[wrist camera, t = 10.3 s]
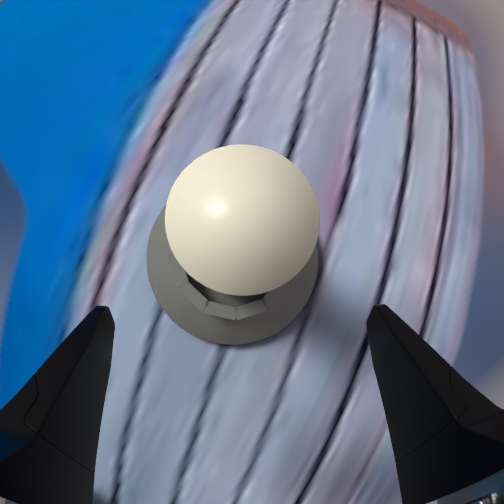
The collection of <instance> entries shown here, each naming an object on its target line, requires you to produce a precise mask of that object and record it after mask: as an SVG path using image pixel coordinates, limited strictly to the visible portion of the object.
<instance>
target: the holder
mask: <svg viewBox="0 0 504 504" xmlns="http://www.w3.org/2000/svg"><path fill="white" fill-rule="evenodd" d="M165 209H166V206H165V207H164V208H163V210H162V211H161V213H160V214H159V216H158V218H157V220H156V222H155V224H154V226H153V228H152V231H151V234H150V237H149V242H148V247H147V271H148V276H149V281H150V284H151V287H152V290H153V292H154V295H155V297H156V298H157V300H158V302H159V304H160V305H161V307H162V308H163V310H164V311H165V313H166V314H167V315H168V316H169V317H170V318H171V319H172V320H173V321H174V322H175V323H176V324H177V325H179V326H180V327H181V328H182V329H184V330H185V331H187V332H189V333H190V334H192V335H194V336H196V337H198V338H200V339H203V340H206V341H209V342H213V343H218V344H225V345H240V344H248V343H252V342H256V341H260V340H262V339H265V338H267V337H270V336H272V335H274V334H275V333H277V332H279V331H280V330H282V329H283V328H284V327H286V326H287V325H288V324H290V323H291V322H292V321H293V320H294V319H295V318H296V317H297V315H298V314H299V313H300V312H301V310H302V309H303V308H304V306H305V305H306V303H307V301H308V299H309V298H310V295H311V293H312V291H313V288H314V285H315V281H316V278H317V271H318V248H317V242H316V245H315V248H314V250H313V253H312V255H311V256H310V258H309V260H308V262H307V263H306V264H305V266H304V267H303V268H302V269H301V271H300V272H299V273H298V274H297V275H296V276H295V277H293V278H292V279H291V280H289V281H288V282H287V283H285V284H283V285H282V286H280V287H278V288H276V289H273V290H271V291H268V292H265V293H261V294H257V295H248V296H238V295H230V294H224V293H221V292H218V291H215V290H212V289H210V288H208V287H206V286H204V285H203V284H201V283H199V282H198V281H196V280H195V279H194V278H193V277H191V276H190V275H189V274H188V273H187V272H186V271H185V270H184V269H183V268H182V266H181V265H180V264H179V262H178V261H177V259H176V258H175V256H174V254H173V252H172V250H171V248H170V245H169V242H168V239H167V234H166V229H165Z"/></svg>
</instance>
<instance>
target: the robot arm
mask: <svg viewBox="0 0 504 504" xmlns="http://www.w3.org/2000/svg"><path fill="white" fill-rule="evenodd" d="M114 331H115V323H114V320H113V317H112V315H111V312H110V309H109V308H108V307H107V306H96V307H95V308H94V309H93V310H92V311H91V312H90V313H89V314H88V315H87V316H86V317H85V318H84V319H83V320H82V321H81V323H80V324H79V325H78V326H77V327H76V328H75V329H74V330H73V331H72V332H71V333H70V334H69V335H68V337H67V338H66V339H65V340H64V341H63V342H62V343H61V344H60V345H59V346H58V348H57V349H56V350H55V351H54V352H53V353H52V354H51V355H50V357H49V358H48V359H47V360H46V361H45V362H44V363H43V365H42V366H41V367H40V368H39V369H38V370H37V372H36V373H35V374H34V375H33V376H32V377H31V378H30V380H29V381H28V382H27V383H26V384H25V385H24V386H23V388H22V389H21V390H20V391H19V392H18V393H17V394H16V395H15V396H14V397H13V398H12V399H11V400H10V401H9V402H8V403H7V404H6V405H5V406H4V407H3V408H2V409H1V410H0V504H92V499H93V486H94V475H95V474H94V473H95V464H96V455H97V447H98V440H99V433H100V426H101V419H102V413H103V407H104V401H105V395H106V390H107V384H108V379H109V374H110V368H111V360H112V349H113V339H114ZM367 331H368V337H369V343H370V349H371V356H372V362H373V366H374V370H375V374H376V378H377V382H378V386H379V390H380V394H381V398H382V402H383V406H384V410H385V415H386V419H387V423H388V428H389V433H390V437H391V442H392V447H393V452H394V457H395V462H396V468H397V474H398V479H399V485H400V491H401V497H402V504H426V503H429V502H431V501H434V500H437V504H504V410H503V409H501V408H499V407H498V406H496V405H495V404H493V403H492V402H491V401H490V400H489V399H488V398H486V397H485V396H484V395H483V394H481V393H480V392H479V391H478V390H477V389H475V388H474V387H473V386H472V385H471V384H470V383H469V382H467V381H466V380H465V379H464V378H463V377H462V376H461V375H460V374H459V373H458V372H457V371H456V370H455V369H454V368H453V367H452V366H450V364H448V363H447V362H446V361H445V360H444V359H443V358H442V357H441V356H440V355H439V354H438V353H437V352H436V351H435V350H434V349H433V348H432V347H431V346H430V345H429V344H428V343H427V342H426V341H424V340H423V339H422V338H421V337H420V336H419V335H418V334H417V333H416V332H415V331H414V330H413V329H412V328H411V327H410V326H408V325H407V324H406V323H405V322H404V321H403V320H402V319H401V318H400V317H399V316H398V315H397V314H395V313H394V312H393V311H392V310H391V309H390V308H389V307H388V306H387V305H385V304H380V305H375V306H373V308H372V310H371V313H370V315H369V317H368V319H367Z"/></svg>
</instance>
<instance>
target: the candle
mask: <svg viewBox="0 0 504 504" xmlns="http://www.w3.org/2000/svg"><path fill="white" fill-rule="evenodd" d="M319 226H320V214H319V208H318V203H317V200H316V196H315V194H314V191H313V189H312V187H311V185H310V183H309V182H308V180H307V178H306V177H305V176H304V175H303V173H302V172H301V171H300V170H299V169H298V168H297V167H296V166H295V165H294V164H293V163H292V162H290V161H289V160H288V159H287V158H285V157H283V156H282V155H280V154H278V153H276V152H274V151H272V150H269V149H266V148H263V147H259V146H253V145H229V146H224V147H220V148H217V149H214V150H211V151H209V152H207V153H205V154H203V155H202V156H200V157H199V158H197V159H195V160H194V161H193V162H192V163H191V164H189V165H188V166H187V167H186V168H185V169H184V171H183V172H182V173H181V174H180V175H179V177H178V178H177V180H176V181H175V183H174V185H173V187H172V189H171V191H170V194H169V197H168V200H167V204H166V209H165V229H166V234H167V239H168V242H169V245H170V248H171V250H172V252H173V254H174V256H175V258H176V259H177V261H178V262H179V264H180V265H181V266H182V268H183V269H184V270H185V271H186V272H187V273H188V274H189V275H190V276H191V277H193V278H194V279H195V280H196V281H198V282H199V283H201V284H203V285H204V286H206V287H208V288H210V289H212V290H215V291H218V292H221V293H224V294H230V295H238V296H248V295H257V294H261V293H265V292H268V291H271V290H273V289H276V288H278V287H280V286H282V285H283V284H285V283H287V282H288V281H289V280H291V279H292V278H293V277H295V276H296V275H297V274H298V273H299V272H300V271H301V269H302V268H303V267H304V266H305V264H306V263H307V262H308V260H309V258H310V256H311V255H312V253H313V250H314V248H315V245H316V242H317V238H318V234H319Z"/></svg>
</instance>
